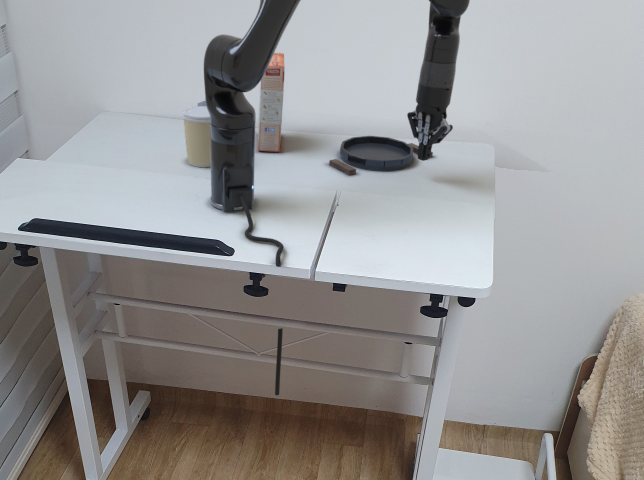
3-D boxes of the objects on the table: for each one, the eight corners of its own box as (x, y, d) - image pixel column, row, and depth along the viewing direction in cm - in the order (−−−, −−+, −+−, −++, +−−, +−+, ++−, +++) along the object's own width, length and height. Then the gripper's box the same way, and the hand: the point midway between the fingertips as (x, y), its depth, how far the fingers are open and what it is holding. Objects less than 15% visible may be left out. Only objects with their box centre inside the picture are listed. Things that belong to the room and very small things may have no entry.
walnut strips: (432, 156, 184) (433, 152, 183) (349, 175, 172) (349, 170, 171) (411, 147, 189) (411, 142, 189) (329, 164, 177) (329, 160, 176)
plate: (424, 167, 178) (426, 156, 176) (358, 174, 173) (360, 163, 171) (390, 143, 191) (392, 133, 190) (328, 149, 186) (329, 139, 185)
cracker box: (281, 153, 183) (285, 65, 170) (257, 152, 183) (259, 64, 170) (281, 135, 194) (284, 52, 182) (258, 134, 194) (261, 51, 182)
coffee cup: (225, 156, 180) (225, 106, 173) (219, 169, 172) (219, 118, 165) (188, 153, 180) (186, 104, 173) (181, 167, 173) (179, 116, 166)
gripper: (403, 76, 161) (392, 153, 171) (444, 91, 152) (430, 171, 162) (428, 72, 164) (415, 148, 174) (470, 87, 155) (454, 165, 165)
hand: (423, 159), depth 168 cm, fingers closed
